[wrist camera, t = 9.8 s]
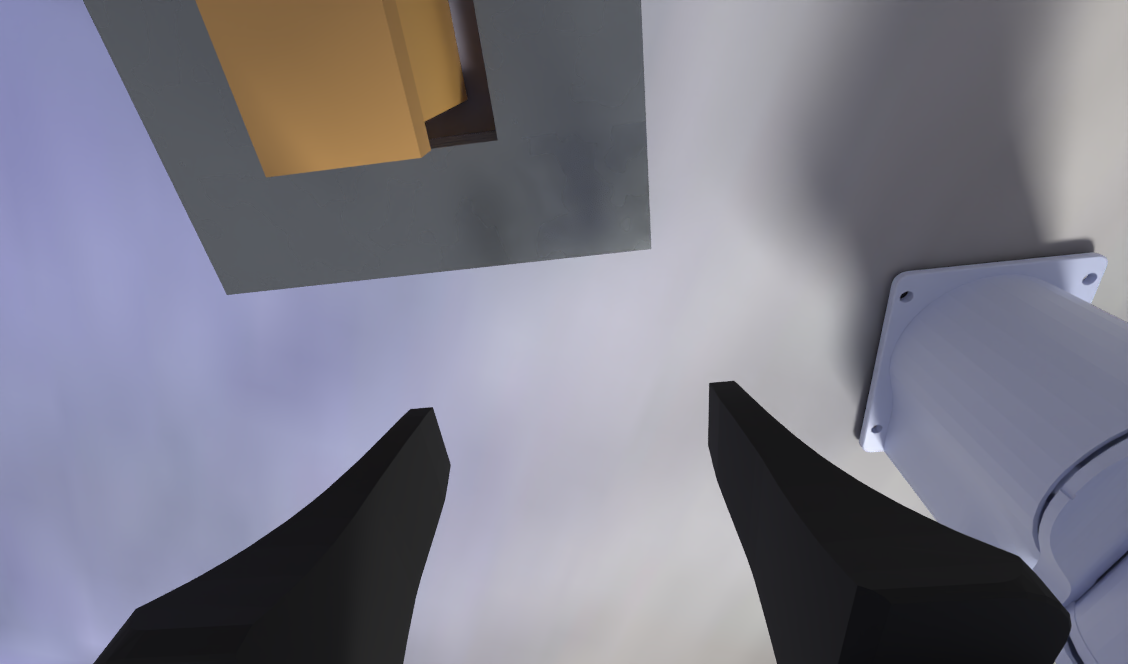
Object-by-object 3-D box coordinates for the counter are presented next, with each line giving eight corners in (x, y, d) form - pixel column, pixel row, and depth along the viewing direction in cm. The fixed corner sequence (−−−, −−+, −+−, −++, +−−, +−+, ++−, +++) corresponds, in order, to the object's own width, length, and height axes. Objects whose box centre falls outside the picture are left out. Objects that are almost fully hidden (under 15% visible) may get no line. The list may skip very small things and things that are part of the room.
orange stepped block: (471, 120, 19) (421, 158, 13) (365, 134, 19) (265, 177, 13) (427, -106, 15) (330, -201, 9) (301, -84, 16) (129, -164, 10)
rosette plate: (643, 226, 20) (650, 248, 18) (262, 269, 22) (227, 294, 19) (612, -401, 13) (620, -494, 10) (20, -279, 14) (-83, -339, 12)
